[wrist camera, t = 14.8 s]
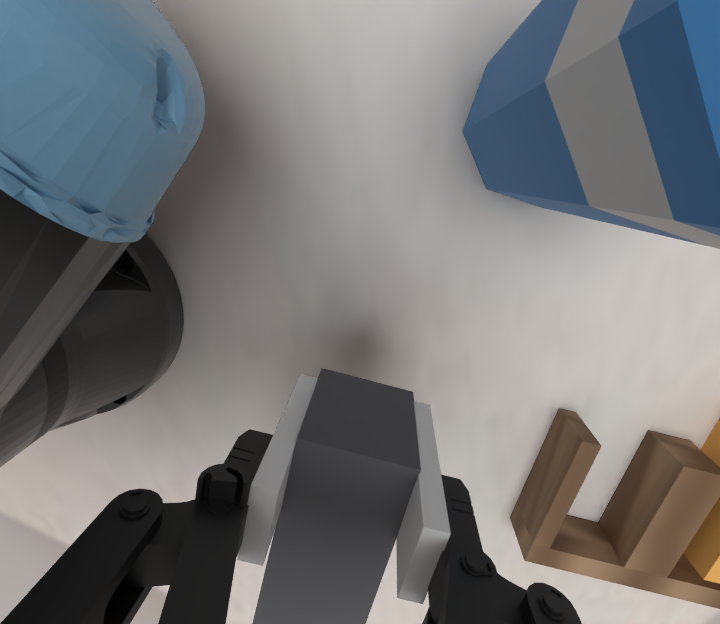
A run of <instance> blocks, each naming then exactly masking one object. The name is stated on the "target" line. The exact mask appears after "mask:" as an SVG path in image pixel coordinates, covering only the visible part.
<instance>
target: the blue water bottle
mask: <svg viewBox="0 0 720 624" xmlns="http://www.w3.org/2000/svg"><path fill="white" fill-rule="evenodd" d="M463 134H464V136H465V138H466V141H467V143H468V146H469V148H470V150H471V153H472V155H473V158H474V160H475V162H476V165H477V167H478V170H479V172H480V174H481V177H482V179H483V182H484V184H485V186H486V189H489V190H492V191H495V192H498V193H501V194H504V195H507V196H510V197H512V198H515V199H518V200H521V201H524V202H527V203H530V204H533V205H536V206H539V207H542V208H546V209H551V210H555V211H559V212H564V213H568V214H572V215H577V216H581V217H585V218H589V219H594V220H598V221H602V222H607V223H611V224H615V225H620V226H624V227H628V228H633V229H637V230H641V231H646V232H650V233H654V234H659V235H663V236H667V237H671V238H676V239H680V240H684V241H689V242H693V243H697V244H702V245H706V246H710V247H715V248H719V249H720V0H542V1H541V2H540V3H539V4H538V6H537V7H536V8H535V9H534V10H533V11H532V13H531V14H530V15H529V16H528V17H527V18H526V20H525V21H524V22H523V23H522V24H521V25H520V27H519V28H518V29H517V30H516V31H515V32H514V34H513V35H512V36H511V37H510V38H509V39H508V41H507V42H506V43H505V44H504V45H503V46H502V48H501V49H500V50H499V51H498V52H497V53H496V55H495V56H494V57H493V58H492V59H491V61H490V62H489V63H488V64H487V66H486V69H485V72H484V75H483V77H482V80H481V83H480V86H479V88H478V91H477V94H476V96H475V99H474V102H473V105H472V107H471V110H470V113H469V116H468V118H467V121H466V124H465V126H464V129H463Z"/></svg>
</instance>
